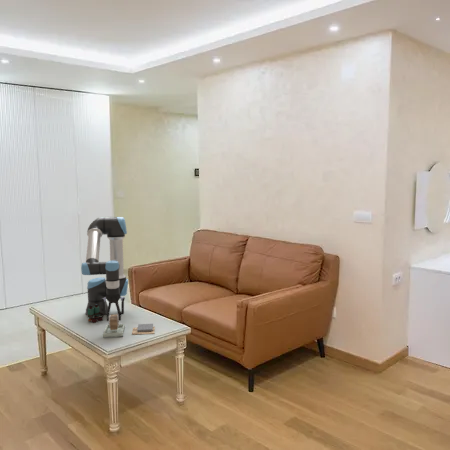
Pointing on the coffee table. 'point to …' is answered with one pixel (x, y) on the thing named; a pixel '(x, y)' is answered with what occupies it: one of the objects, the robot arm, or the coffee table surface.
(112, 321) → the block
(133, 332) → the cork mat
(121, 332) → the tray
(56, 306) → the coffee table surface
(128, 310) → the coffee table surface
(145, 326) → the grey square tile
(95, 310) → the binoculars
